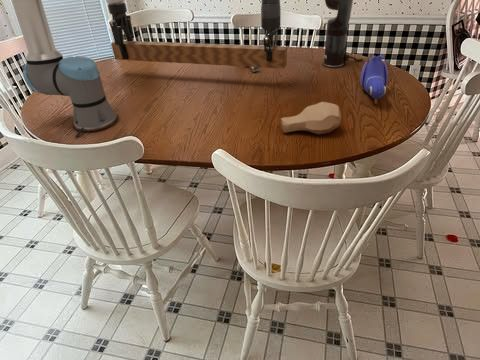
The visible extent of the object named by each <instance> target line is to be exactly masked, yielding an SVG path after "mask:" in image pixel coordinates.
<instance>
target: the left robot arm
mask: <svg viewBox="0 0 480 360" xmlns="http://www.w3.org/2000/svg"><path fill="white" fill-rule="evenodd" d="M10 1H11V4H12V7H13V10H14V13H15V17H16V19H17V23H18V25H19V29H20V31H21V35H22V37H23V40H24V44H25V46H26V49H27V55H26V56H25V62H26V63H25V64H24V66H23V69H22V75H23V79H24V81H25V84H26V85H27V86H28V88H29V89H31V90H32V91H34V92H35V93H37V94H43V95H47V96H64V97H69V99H70V101H71V104H72V108H73V114H72V117H73V118H72V119H73V125H74V128H75V129H76V131H77V133H76V134H75V137H76V138H78V137H79V136H80V135H81V133H82V132H84V133H92V132H99V131H102V130H105V129H107V128H110V127H111V126H113V125H115V124H116V122H117V121H118V116H117V113H116V111H115V110H114V108H113V107H112V105H111V103H110V102H109V101H108V99H107V96H106V92H105V89H104V87H103V86H104V85H103V82H102V79H101V78H102V77H101V73H100V71H99V69H98V66H97V64H96V62H95V61H94V60H93V59H92V58H89V57H86V56H82V55H81V56H80V55H76V56H67V57H63V53H62V52H60V51H58V49H56V45H55V42H54V39H53V36H52V35H53V34H52V32H51V29H50V26H49V20H48V18H47V14H46V11H45V8H44V4H43V1H42V0H10ZM106 3H107V8H108V13H109V14H110V15H111V16H112V20H111V21H108V24H109V26H110V29H111V33H112V37H113V42H115V44H116V45H119V48H120V52H121V54H122V58H123V59H128V55H127V50H126V46H125V44H124V42H123V41H124V37H125V39H126V41H135V34H134V29H133V24H132V17H131V15H127V14H126V13H127V12H128V9H127V5H126V3H125V0H106Z"/></svg>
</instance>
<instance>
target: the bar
mask: <svg viewBox="0 0 480 360" xmlns="http://www.w3.org/2000/svg"><path fill="white" fill-rule="evenodd" d="M123 42H124V44H125V46H126V50H127V55H128V59H123V58H122V54H121V52H120V48H119V45H116V44H115V41H112V42H111V43H110V46H111V49H112V53H113V57H114V60H116V61H118V60H119V61H137V62H154V63H155V62H156V63H172V64H173V63H174V64H192V65H208V66H227V67H228V66H229V67H245V68H251V67H260V68H262V69H263V68H265V69H281V70H283V69H285V68H286V67H287V64H288V63H287V62H288V46H284V45H283V46H280V45H276V46H273V48H272V61H271V62H267V54H266V52H265V51H264V45H256V44H255V45H254V44H253V45H251V44H230V43H229V44H228V43H227V44H226V43H201V42H198V43H197V42H196V43H195V42H175V41H174V42H169V41H143V40H141V41H140V40H134V41H127V40H123ZM268 49H269V47H268Z"/></svg>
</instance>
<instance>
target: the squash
mask: <svg viewBox="0 0 480 360" xmlns="http://www.w3.org/2000/svg"><path fill="white" fill-rule="evenodd" d="M341 118H342V113H341V109H340V106H339V105H338V104H335V103H332V102H328V101H320V102H317V103H315V104H311V105H308V106H306V107H305V108H303V110H302V111H301V112H300V113H298V114H296V115H293V116H286V117H285V116H284V117H281V118H280V124H281V130H282V131H283V133H285V134H286V133H292V132H296V131H297V132H298V131H306V132H310V133H312V134H316V135H325V134H330V133H331V132H332V131H334V130H337V129H338V128H339V127H340V124H341Z"/></svg>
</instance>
